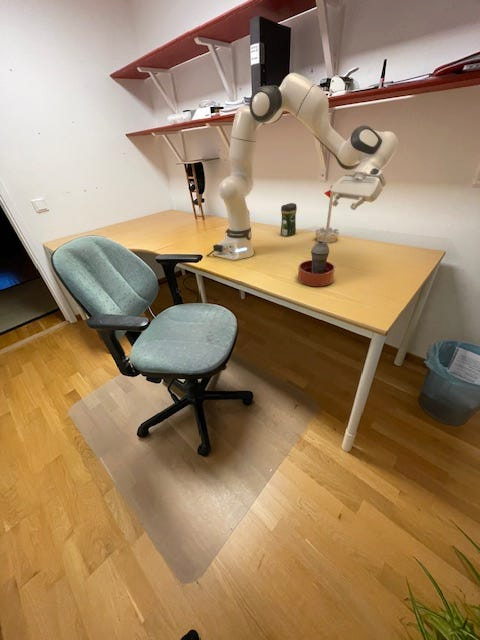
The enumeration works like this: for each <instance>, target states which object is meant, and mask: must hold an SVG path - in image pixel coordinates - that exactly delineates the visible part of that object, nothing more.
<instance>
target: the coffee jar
mask: <svg viewBox="0 0 480 640" xmlns="http://www.w3.org/2000/svg"><path fill="white" fill-rule="evenodd" d="M297 209H298V207H297V204H296V203H295V202H289V203H286V204H282V205H281V206H280V214H281V222H280V223H281V224H280V235H281V236H282V237H291V236H293V235H295V234H296V233H297V232H296V231H297V227H296V224H297V223H296V217H297Z"/></svg>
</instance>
